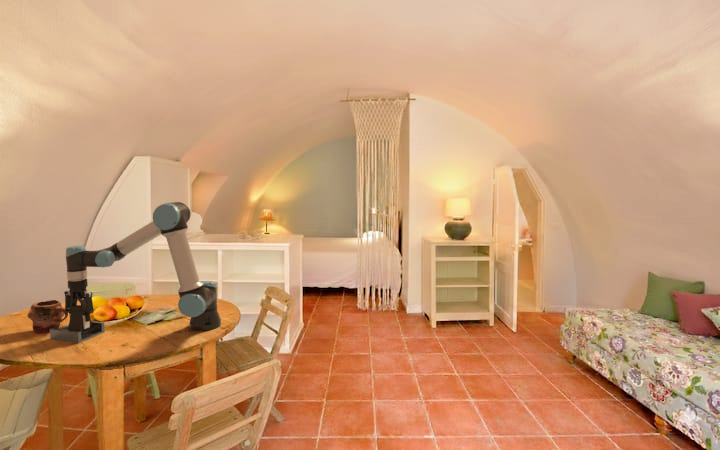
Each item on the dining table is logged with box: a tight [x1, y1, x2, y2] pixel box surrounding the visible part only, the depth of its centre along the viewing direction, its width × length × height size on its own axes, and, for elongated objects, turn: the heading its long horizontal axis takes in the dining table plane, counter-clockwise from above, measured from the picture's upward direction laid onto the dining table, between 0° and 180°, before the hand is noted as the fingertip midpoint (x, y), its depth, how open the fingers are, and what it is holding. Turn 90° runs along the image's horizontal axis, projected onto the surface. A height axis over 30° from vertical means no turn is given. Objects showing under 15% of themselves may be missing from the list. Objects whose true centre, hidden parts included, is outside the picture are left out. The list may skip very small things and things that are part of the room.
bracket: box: [49, 320, 106, 344], centre depth 191 cm, size 16×14×5 cm
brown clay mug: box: [27, 299, 69, 335], centre depth 196 cm, size 20×12×14 cm, turn 89°
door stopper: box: [68, 304, 93, 333], centre depth 190 cm, size 9×6×12 cm, turn 178°
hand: (80, 327), depth 190 cm, fingers closed on door stopper, 6 cm apart
